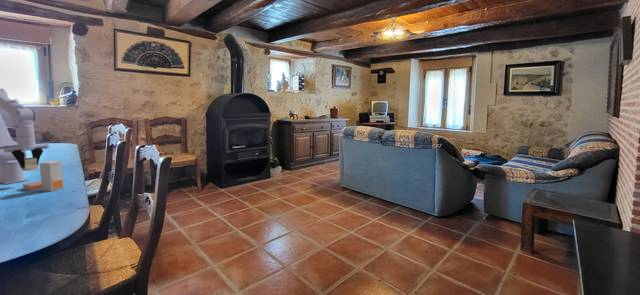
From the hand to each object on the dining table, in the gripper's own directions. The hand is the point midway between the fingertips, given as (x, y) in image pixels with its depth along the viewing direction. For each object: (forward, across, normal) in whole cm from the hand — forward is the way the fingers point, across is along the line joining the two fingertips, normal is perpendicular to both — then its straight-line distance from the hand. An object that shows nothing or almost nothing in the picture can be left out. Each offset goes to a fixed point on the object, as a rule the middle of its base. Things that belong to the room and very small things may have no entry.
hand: (29, 166), depth 133 cm
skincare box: (+9, +1, -16) cm, 18 cm away
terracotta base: (+8, -1, -8) cm, 12 cm away
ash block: (+1, 0, 0) cm, 1 cm away
